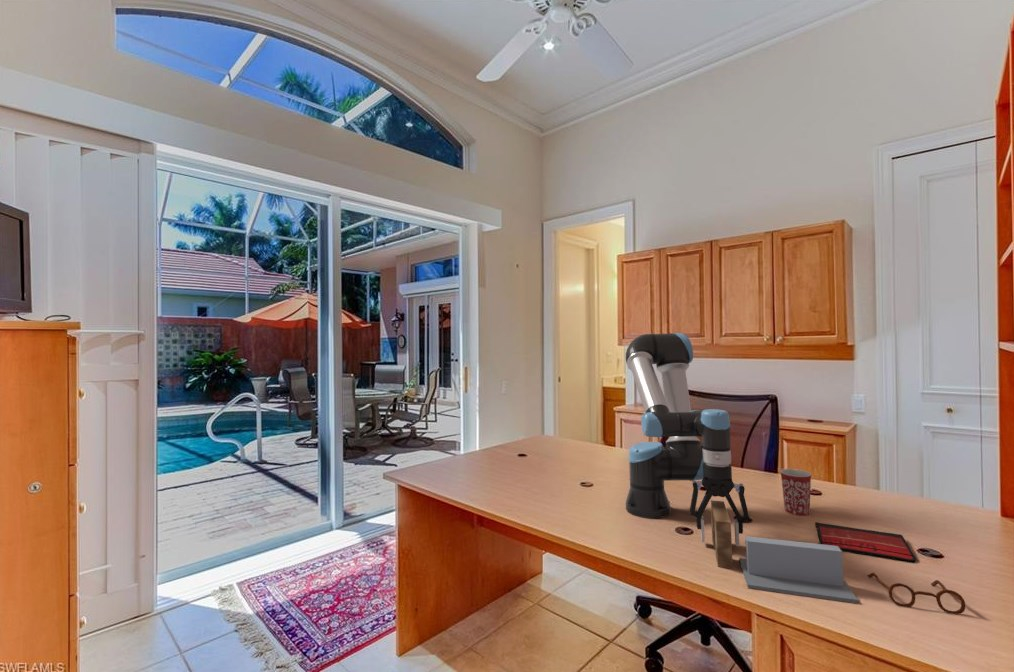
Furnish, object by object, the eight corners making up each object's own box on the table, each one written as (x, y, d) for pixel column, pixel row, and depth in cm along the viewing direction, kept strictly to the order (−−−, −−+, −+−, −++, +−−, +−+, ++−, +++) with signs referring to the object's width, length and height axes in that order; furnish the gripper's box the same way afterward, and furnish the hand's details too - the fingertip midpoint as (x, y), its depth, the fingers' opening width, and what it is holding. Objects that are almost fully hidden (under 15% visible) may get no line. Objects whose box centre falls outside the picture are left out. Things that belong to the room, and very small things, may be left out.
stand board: (747, 587, 107) (746, 550, 108) (739, 560, 121) (738, 527, 121) (858, 603, 100) (856, 563, 100) (836, 572, 113) (834, 537, 113)
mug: (809, 519, 146) (807, 478, 147) (778, 512, 153) (776, 472, 153) (818, 508, 155) (816, 469, 155) (788, 502, 162) (787, 465, 162)
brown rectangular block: (717, 566, 118) (716, 521, 118) (712, 540, 133) (710, 500, 133) (732, 568, 117) (730, 522, 117) (725, 542, 132) (723, 501, 132)
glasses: (890, 606, 99) (889, 584, 99) (866, 577, 111) (866, 557, 112) (967, 618, 95) (966, 594, 95) (933, 586, 107) (932, 565, 107)
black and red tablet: (815, 521, 140) (902, 533, 130) (815, 528, 140) (902, 541, 130) (821, 544, 126) (919, 560, 116) (821, 552, 126) (919, 568, 116)
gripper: (678, 464, 130) (681, 543, 129) (760, 469, 122) (763, 552, 122) (677, 458, 137) (680, 532, 136) (755, 462, 129) (758, 541, 129)
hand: (719, 542), depth 129 cm, fingers open, 8 cm apart
